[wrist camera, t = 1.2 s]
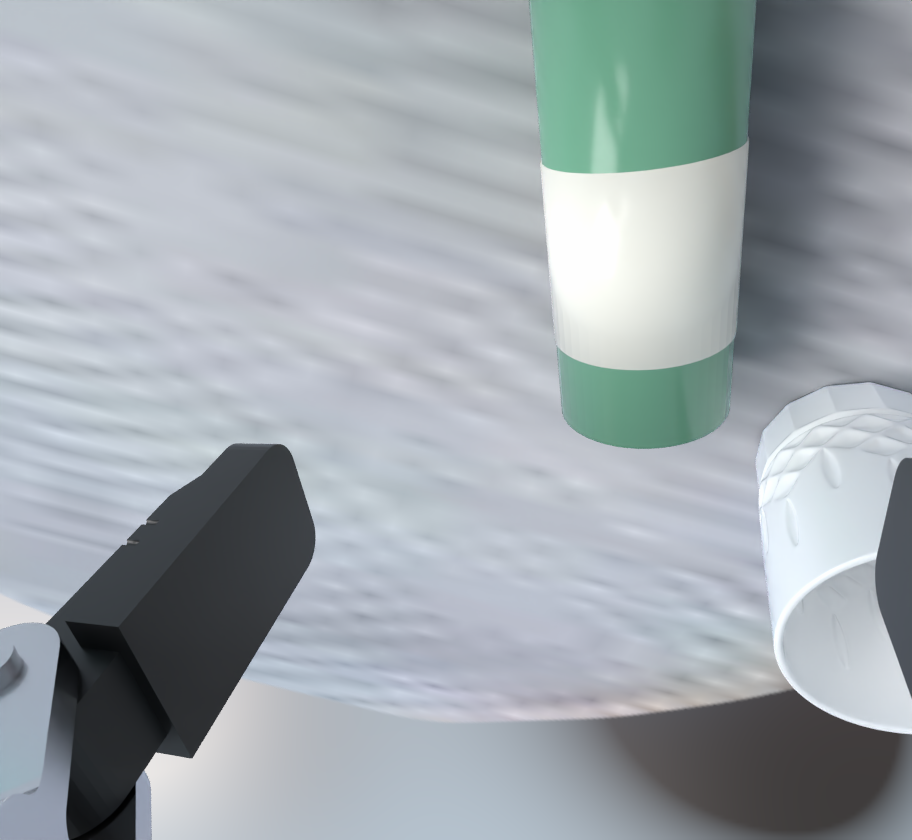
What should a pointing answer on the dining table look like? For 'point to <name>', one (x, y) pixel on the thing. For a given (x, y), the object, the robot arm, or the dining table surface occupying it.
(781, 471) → the white cup
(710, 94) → the green bottle
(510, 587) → the dining table surface
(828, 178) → the dining table surface
